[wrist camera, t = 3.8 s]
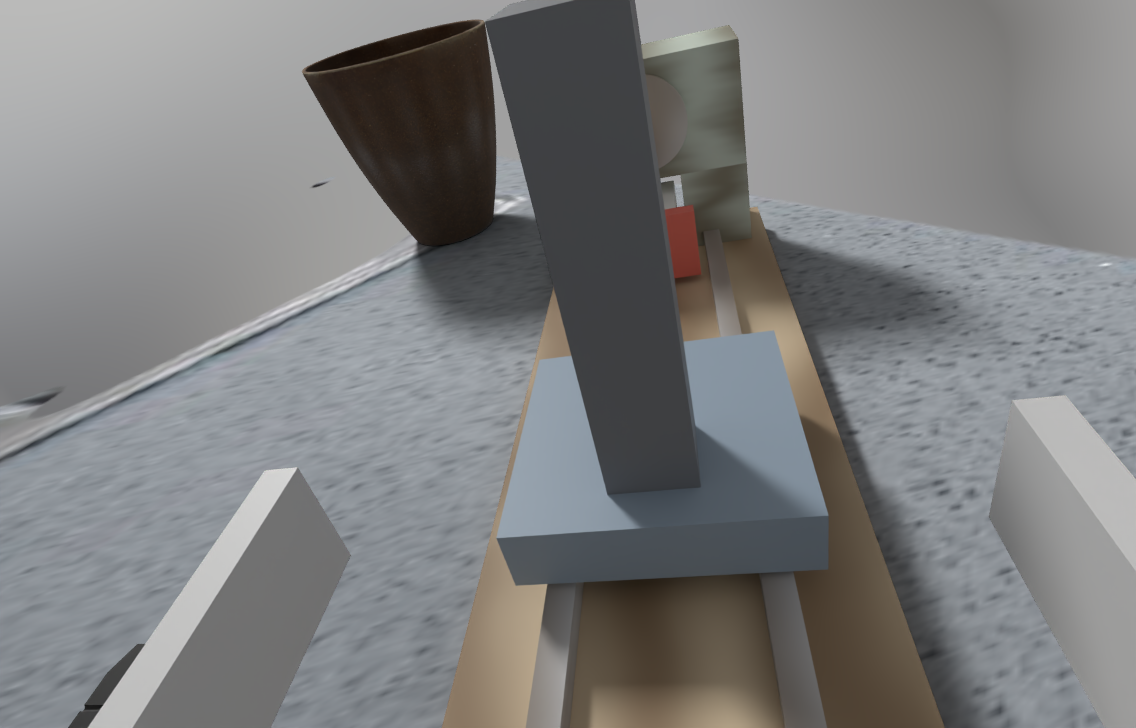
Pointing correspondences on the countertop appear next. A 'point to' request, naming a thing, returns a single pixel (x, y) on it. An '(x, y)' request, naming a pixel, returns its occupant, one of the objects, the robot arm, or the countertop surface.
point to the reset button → (681, 234)
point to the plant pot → (419, 125)
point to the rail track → (719, 602)
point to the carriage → (634, 345)
